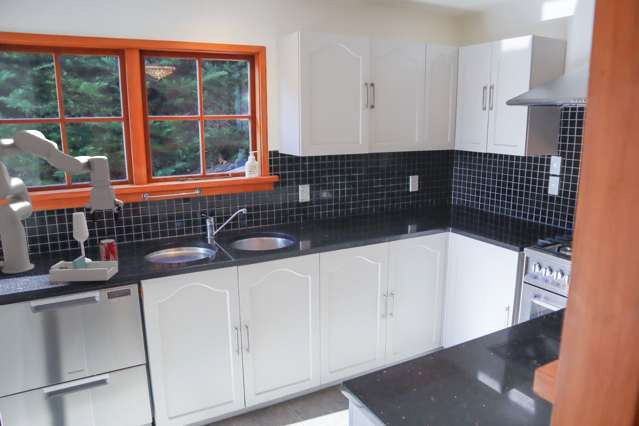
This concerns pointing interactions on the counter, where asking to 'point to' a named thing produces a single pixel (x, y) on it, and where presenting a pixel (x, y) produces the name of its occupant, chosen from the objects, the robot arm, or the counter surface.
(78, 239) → the champagne flute
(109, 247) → the soda can
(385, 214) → the counter surface
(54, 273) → the light grey tray
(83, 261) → the pusher plate
